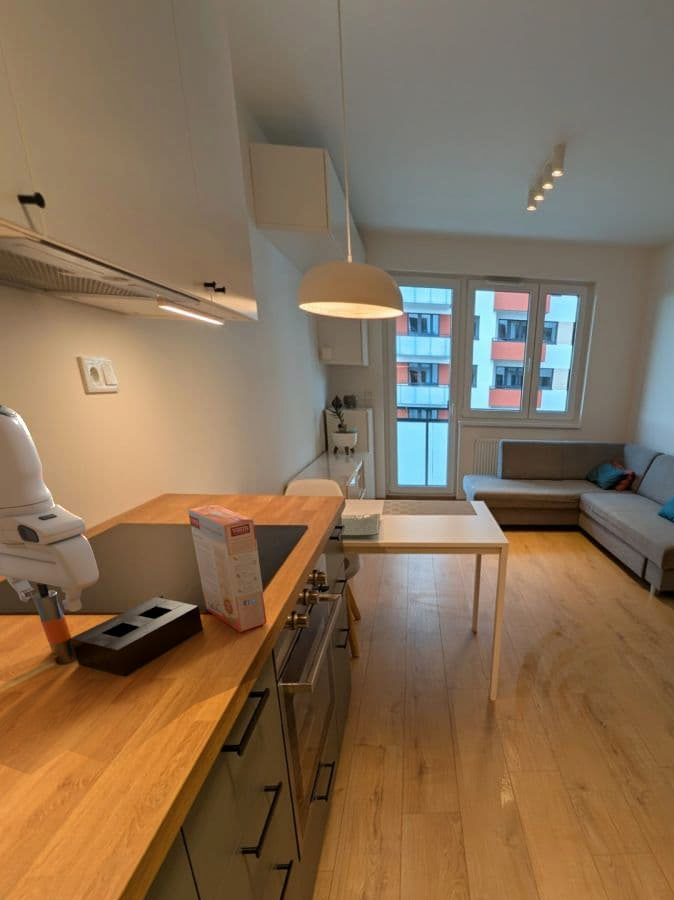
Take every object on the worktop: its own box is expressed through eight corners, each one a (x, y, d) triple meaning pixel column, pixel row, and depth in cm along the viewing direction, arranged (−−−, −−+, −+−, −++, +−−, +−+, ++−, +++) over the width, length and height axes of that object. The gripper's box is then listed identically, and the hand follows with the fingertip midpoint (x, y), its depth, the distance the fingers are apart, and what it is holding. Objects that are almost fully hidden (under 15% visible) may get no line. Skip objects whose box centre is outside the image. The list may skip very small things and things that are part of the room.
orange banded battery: (50, 662, 83) (23, 585, 77) (69, 653, 86) (44, 578, 80) (65, 666, 82) (38, 589, 76) (82, 657, 85) (58, 581, 79)
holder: (78, 664, 83) (69, 638, 81) (161, 620, 97) (155, 596, 95) (125, 677, 80) (117, 650, 78) (203, 629, 95) (198, 605, 93)
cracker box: (269, 623, 98) (255, 518, 89) (239, 634, 94) (221, 525, 85) (233, 601, 106) (217, 502, 97) (205, 610, 102) (185, 508, 93)
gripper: (-53, 518, 74) (-17, 602, 80) (50, 534, 69) (80, 624, 75) (-6, 507, 80) (25, 587, 86) (93, 522, 74) (118, 606, 80)
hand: (51, 604), depth 80 cm, fingers open, 8 cm apart
